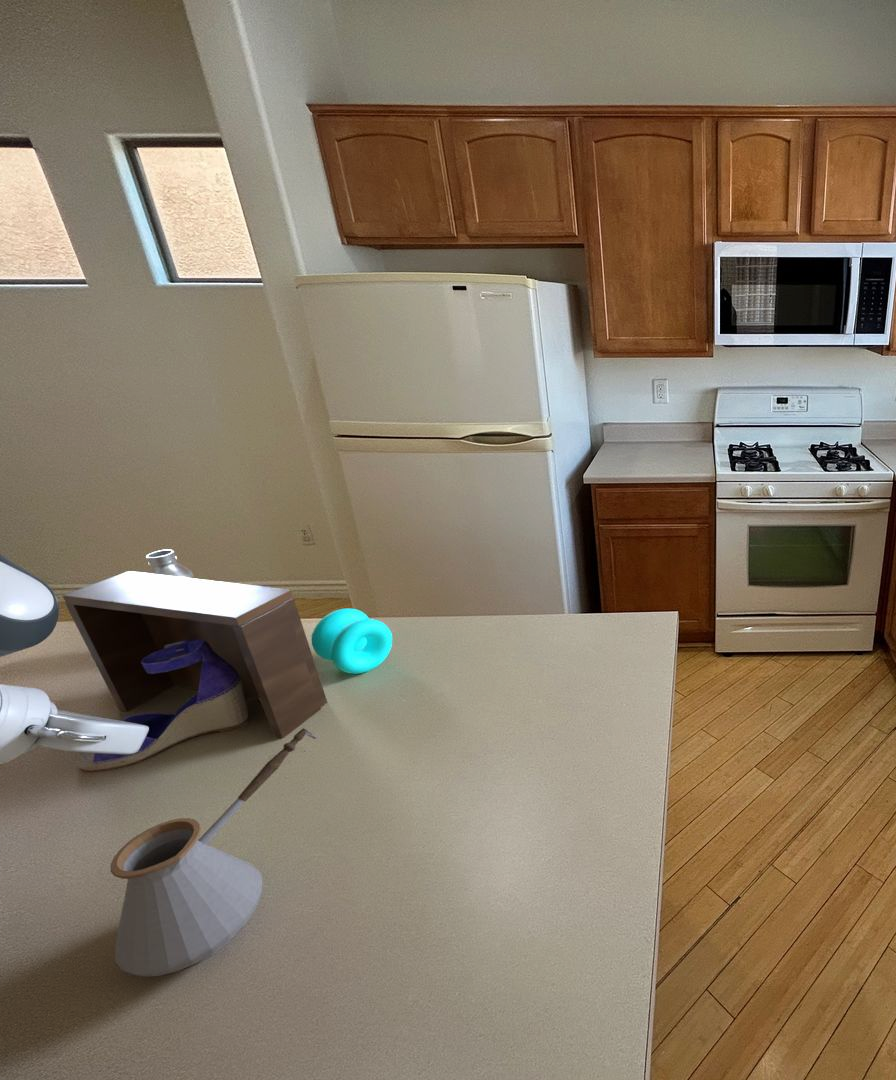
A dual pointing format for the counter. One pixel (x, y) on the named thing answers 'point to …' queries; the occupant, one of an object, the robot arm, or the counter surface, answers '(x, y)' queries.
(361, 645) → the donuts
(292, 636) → the shoe rack
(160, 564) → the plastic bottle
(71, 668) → the counter surface
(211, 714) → the sandal
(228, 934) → the coffee pot
